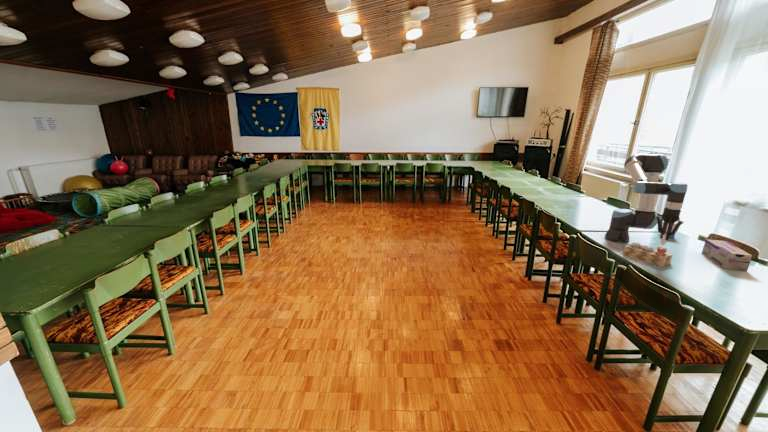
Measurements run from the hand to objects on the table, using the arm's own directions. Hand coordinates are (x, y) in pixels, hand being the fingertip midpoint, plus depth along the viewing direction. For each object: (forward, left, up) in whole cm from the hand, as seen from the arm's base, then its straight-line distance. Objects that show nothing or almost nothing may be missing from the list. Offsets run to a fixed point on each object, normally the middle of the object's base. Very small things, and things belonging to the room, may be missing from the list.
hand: (663, 244), depth 197 cm
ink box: (-21, +62, -13) cm, 66 cm away
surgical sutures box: (+19, +36, -13) cm, 43 cm away
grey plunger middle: (-7, 0, -12) cm, 14 cm away
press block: (-7, 0, -13) cm, 14 cm away
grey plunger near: (-14, 0, -12) cm, 18 cm away
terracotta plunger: (0, 0, -10) cm, 10 cm away
